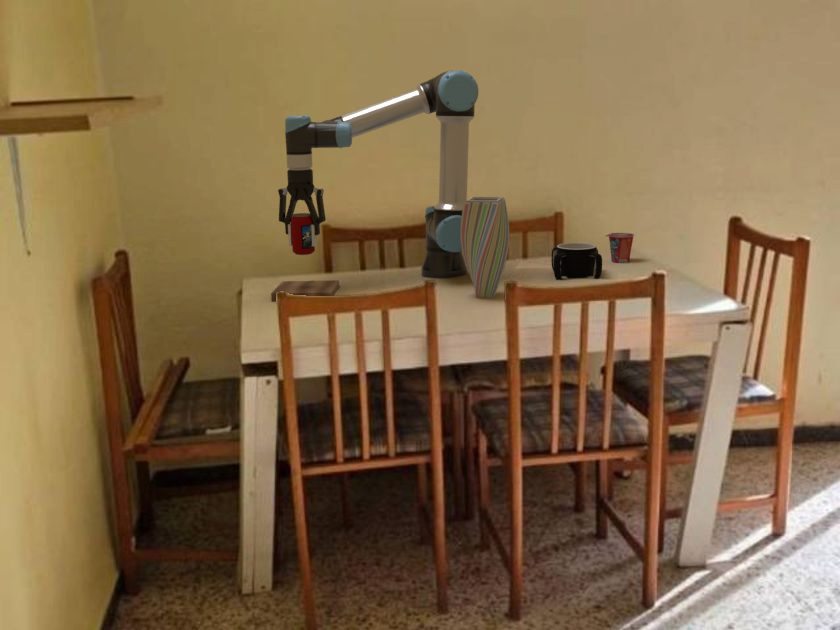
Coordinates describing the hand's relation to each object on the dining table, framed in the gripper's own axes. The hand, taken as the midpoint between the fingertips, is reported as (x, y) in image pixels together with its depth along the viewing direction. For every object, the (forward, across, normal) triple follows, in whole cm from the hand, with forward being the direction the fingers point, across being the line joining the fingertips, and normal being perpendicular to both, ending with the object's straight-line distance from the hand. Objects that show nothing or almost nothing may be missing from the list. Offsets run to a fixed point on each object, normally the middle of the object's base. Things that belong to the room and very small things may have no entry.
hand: (303, 245), depth 271 cm
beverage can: (+3, 0, 0) cm, 3 cm away
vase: (+15, -56, +4) cm, 58 cm away
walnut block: (+16, 0, 0) cm, 16 cm away
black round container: (+15, -80, -26) cm, 86 cm away
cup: (+14, -93, -49) cm, 107 cm away
